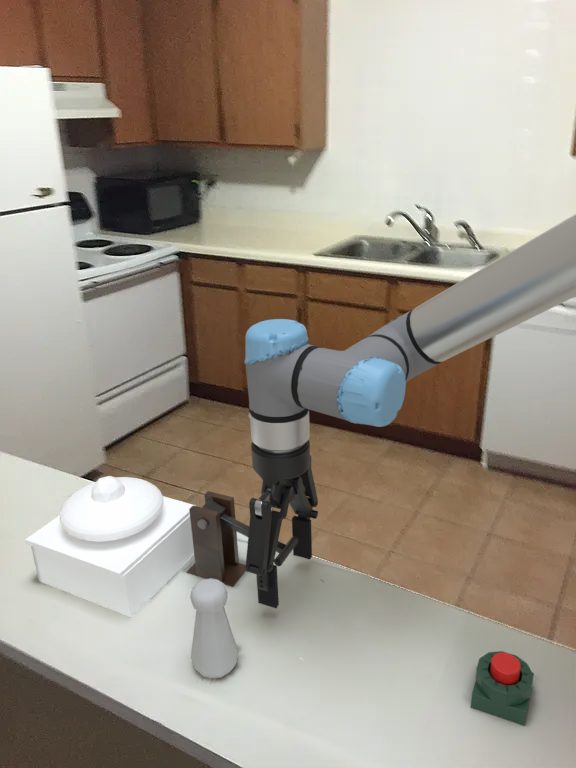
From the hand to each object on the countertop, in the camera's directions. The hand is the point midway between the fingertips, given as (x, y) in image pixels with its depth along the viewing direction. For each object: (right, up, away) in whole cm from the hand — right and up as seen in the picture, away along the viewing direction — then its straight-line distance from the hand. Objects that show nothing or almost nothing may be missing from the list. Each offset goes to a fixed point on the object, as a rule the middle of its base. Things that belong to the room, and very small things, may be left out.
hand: (286, 578), depth 94 cm
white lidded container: (-25, -1, +8) cm, 26 cm away
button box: (+25, -9, -16) cm, 31 cm away
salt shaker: (-9, -8, -10) cm, 16 cm away
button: (+25, -6, -17) cm, 31 cm away
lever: (-6, +6, 0) cm, 8 cm away
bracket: (-10, -1, +6) cm, 12 cm away
